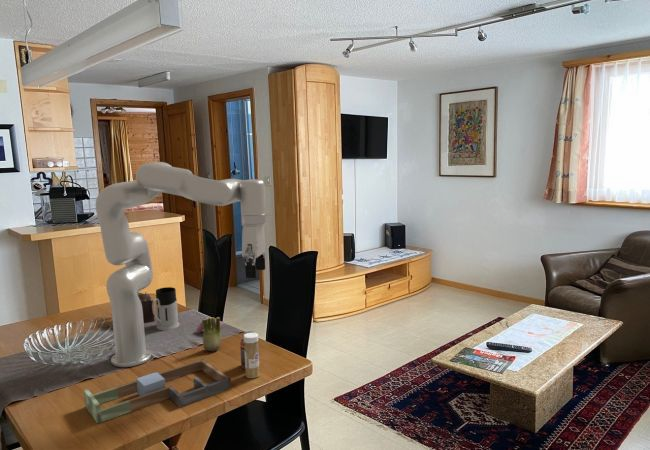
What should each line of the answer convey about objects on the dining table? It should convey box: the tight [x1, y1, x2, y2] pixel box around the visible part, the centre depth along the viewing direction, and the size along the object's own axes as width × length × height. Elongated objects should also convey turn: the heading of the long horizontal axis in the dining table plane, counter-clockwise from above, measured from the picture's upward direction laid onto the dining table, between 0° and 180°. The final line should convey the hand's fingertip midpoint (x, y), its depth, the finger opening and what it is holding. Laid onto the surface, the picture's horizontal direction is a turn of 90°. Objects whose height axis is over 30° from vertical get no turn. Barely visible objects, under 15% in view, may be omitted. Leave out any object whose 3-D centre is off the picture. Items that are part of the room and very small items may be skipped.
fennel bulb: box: [202, 316, 222, 352], centre depth 171 cm, size 6×5×12 cm
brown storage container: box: [138, 291, 156, 324], centre depth 204 cm, size 16×11×18 cm
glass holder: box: [152, 286, 180, 331], centre depth 192 cm, size 9×14×15 cm, turn 168°
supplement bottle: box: [239, 330, 260, 370], centre depth 158 cm, size 6×6×11 cm
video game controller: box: [196, 316, 224, 334], centre depth 187 cm, size 10×5×7 cm, turn 58°
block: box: [136, 371, 167, 397], centre depth 141 cm, size 6×6×5 cm
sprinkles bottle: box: [242, 332, 261, 379], centre depth 151 cm, size 5×5×14 cm
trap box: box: [83, 359, 232, 424], centre depth 140 cm, size 18×36×5 cm, turn 131°
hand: (255, 273), depth 153 cm, fingers open, 9 cm apart
